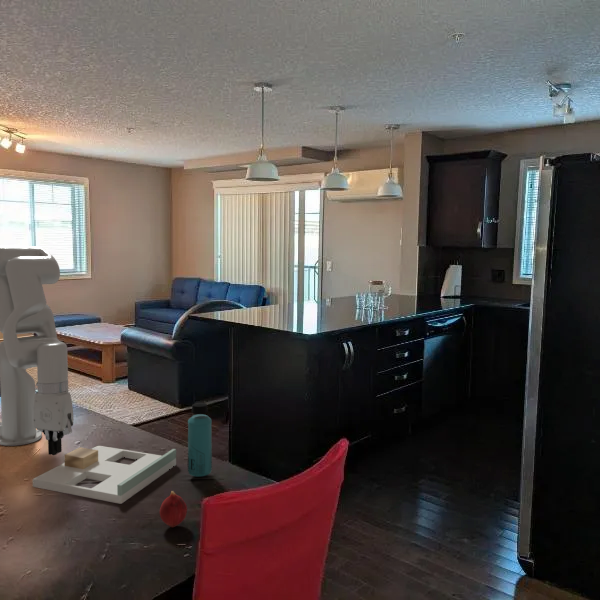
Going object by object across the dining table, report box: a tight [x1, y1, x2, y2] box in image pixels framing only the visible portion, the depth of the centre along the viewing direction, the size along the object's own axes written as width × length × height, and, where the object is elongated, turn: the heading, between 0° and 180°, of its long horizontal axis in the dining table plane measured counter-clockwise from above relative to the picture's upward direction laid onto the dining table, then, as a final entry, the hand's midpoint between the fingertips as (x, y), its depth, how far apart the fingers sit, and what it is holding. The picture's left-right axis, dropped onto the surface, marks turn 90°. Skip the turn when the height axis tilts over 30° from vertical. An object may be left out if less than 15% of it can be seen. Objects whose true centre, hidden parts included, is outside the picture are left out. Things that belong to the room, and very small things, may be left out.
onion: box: [159, 490, 188, 528], centre depth 120 cm, size 6×6×8 cm
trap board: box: [32, 445, 177, 504], centre depth 145 cm, size 26×25×4 cm
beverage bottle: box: [186, 402, 213, 477], centre depth 145 cm, size 6×7×20 cm
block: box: [63, 446, 98, 469], centre depth 148 cm, size 6×6×3 cm
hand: (55, 453), depth 150 cm, fingers closed
